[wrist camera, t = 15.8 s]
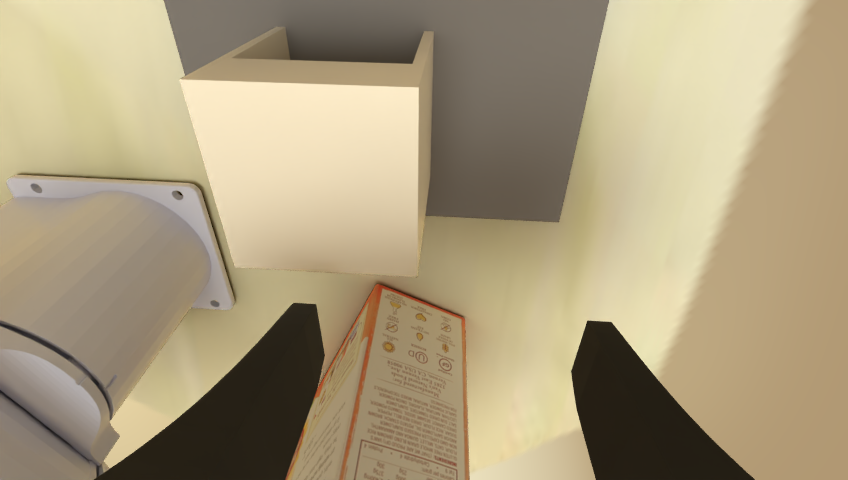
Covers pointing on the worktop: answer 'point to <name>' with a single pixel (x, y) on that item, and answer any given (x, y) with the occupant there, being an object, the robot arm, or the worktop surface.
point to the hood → (316, 157)
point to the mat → (446, 81)
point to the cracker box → (391, 398)
